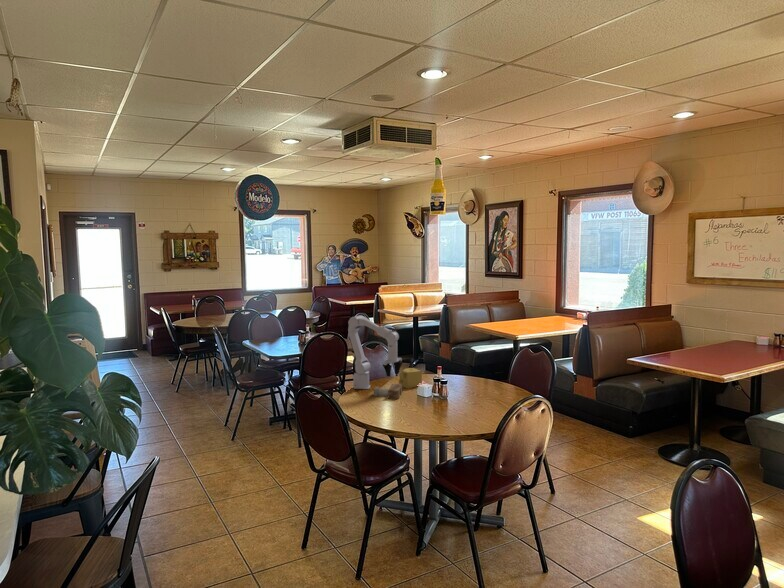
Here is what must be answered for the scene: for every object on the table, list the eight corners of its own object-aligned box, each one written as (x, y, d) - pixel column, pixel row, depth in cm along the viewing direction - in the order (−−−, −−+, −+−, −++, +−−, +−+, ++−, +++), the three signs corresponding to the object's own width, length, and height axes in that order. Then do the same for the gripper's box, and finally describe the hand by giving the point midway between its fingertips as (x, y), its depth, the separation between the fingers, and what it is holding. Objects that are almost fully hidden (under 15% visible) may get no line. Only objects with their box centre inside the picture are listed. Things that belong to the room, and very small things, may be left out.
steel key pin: (373, 396, 312) (373, 389, 312) (375, 393, 318) (375, 386, 318) (396, 397, 310) (396, 389, 310) (397, 394, 316) (397, 387, 316)
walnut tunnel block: (388, 398, 307) (388, 390, 306) (392, 392, 321) (392, 384, 320) (398, 399, 306) (398, 390, 305) (402, 392, 320) (402, 384, 319)
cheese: (398, 384, 337) (398, 369, 336) (413, 382, 342) (413, 367, 341) (407, 388, 328) (407, 372, 327) (422, 386, 333) (422, 370, 332)
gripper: (389, 355, 313) (389, 378, 314) (405, 351, 324) (405, 373, 325) (380, 353, 317) (380, 376, 319) (396, 349, 328) (396, 372, 329)
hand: (392, 375), depth 322 cm, fingers open, 7 cm apart
